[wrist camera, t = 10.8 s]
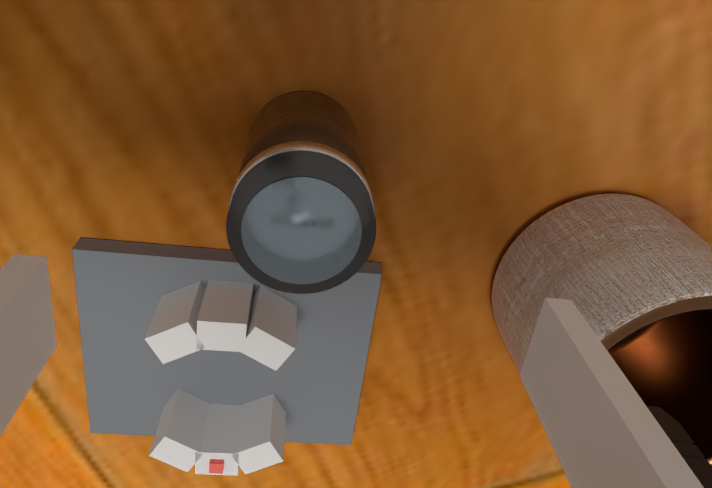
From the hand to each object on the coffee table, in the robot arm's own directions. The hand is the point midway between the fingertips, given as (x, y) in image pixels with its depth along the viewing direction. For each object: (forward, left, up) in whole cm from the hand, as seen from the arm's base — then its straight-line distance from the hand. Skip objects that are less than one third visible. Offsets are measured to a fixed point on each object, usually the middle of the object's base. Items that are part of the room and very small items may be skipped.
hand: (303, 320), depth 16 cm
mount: (+12, -3, -14) cm, 18 cm away
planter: (+6, +16, -14) cm, 22 cm away
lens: (0, 0, -14) cm, 14 cm away
